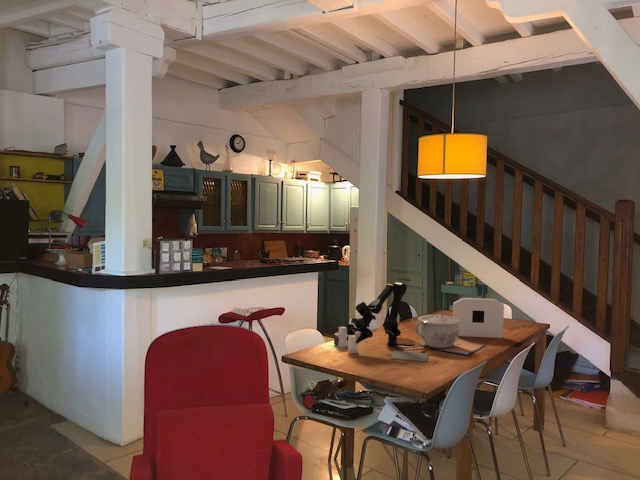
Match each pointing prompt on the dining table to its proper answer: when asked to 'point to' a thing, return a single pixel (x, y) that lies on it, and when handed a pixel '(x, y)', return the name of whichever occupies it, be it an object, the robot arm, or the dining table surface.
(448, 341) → the chamber pot
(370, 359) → the dining table surface
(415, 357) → the mat
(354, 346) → the canister
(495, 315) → the grey boxy block
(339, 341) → the grey bottle
